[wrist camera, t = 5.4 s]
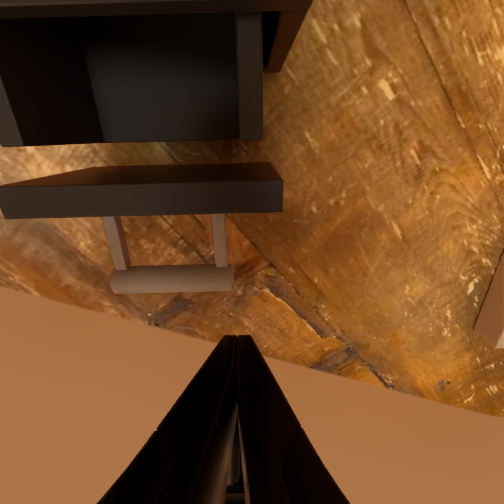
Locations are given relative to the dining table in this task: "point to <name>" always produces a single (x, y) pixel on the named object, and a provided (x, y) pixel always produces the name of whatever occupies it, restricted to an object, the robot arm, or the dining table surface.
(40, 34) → the dark brown drawer
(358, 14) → the dining table surface
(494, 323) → the control block
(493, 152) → the dining table surface
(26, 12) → the drawer cabinet
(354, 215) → the dining table surface
